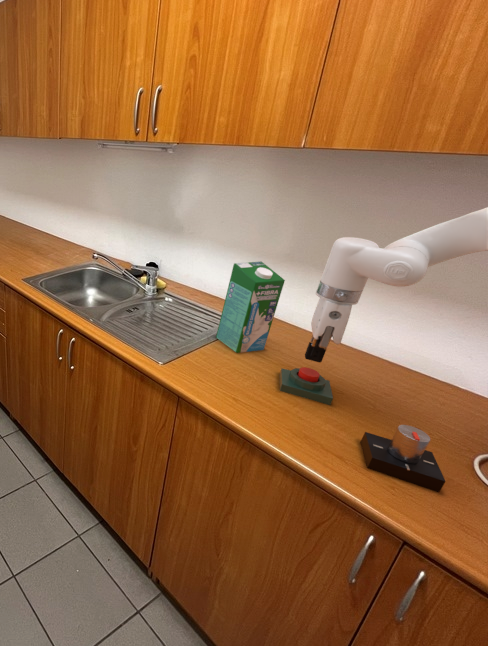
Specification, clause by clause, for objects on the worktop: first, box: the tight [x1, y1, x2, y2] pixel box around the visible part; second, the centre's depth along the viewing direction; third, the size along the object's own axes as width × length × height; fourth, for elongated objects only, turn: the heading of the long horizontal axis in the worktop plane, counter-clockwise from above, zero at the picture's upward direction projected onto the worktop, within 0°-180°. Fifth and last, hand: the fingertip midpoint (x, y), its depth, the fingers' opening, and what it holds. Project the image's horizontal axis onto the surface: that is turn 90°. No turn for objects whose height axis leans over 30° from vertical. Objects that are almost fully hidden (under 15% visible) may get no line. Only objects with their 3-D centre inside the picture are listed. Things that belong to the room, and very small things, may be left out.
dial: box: [387, 424, 431, 464], centre depth 76 cm, size 4×4×6 cm
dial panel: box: [359, 431, 446, 493], centre depth 78 cm, size 10×9×3 cm
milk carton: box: [215, 261, 286, 354], centre depth 115 cm, size 9×9×25 cm
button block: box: [278, 367, 334, 406], centre depth 99 cm, size 10×8×4 cm
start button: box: [298, 366, 321, 382], centre depth 98 cm, size 4×4×2 cm
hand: (312, 359), depth 97 cm, fingers closed
